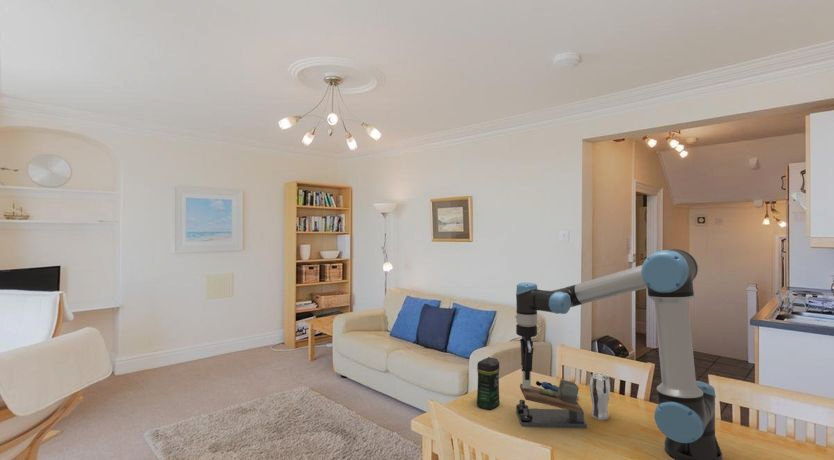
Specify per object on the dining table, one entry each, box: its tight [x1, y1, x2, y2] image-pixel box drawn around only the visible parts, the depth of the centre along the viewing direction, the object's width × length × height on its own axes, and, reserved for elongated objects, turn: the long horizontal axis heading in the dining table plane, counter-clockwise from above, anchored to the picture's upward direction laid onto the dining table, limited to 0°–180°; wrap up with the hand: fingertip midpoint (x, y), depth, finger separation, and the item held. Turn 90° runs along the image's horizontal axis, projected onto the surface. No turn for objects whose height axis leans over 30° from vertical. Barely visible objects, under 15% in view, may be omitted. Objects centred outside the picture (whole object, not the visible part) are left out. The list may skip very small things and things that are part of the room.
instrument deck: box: [519, 378, 583, 413], centre depth 156 cm, size 12×20×8 cm, turn 86°
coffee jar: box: [476, 356, 500, 410], centre depth 170 cm, size 10×8×19 cm
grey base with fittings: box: [515, 399, 588, 429], centre depth 156 cm, size 12×23×5 cm, turn 86°
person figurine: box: [535, 380, 580, 399], centre depth 179 cm, size 11×4×18 cm
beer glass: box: [589, 373, 611, 421], centre depth 159 cm, size 7×7×15 cm
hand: (526, 387), depth 157 cm, fingers closed
